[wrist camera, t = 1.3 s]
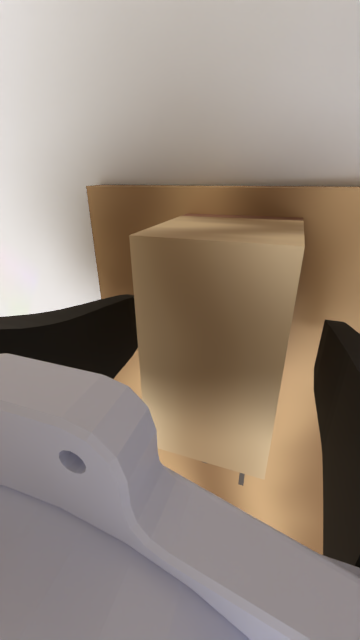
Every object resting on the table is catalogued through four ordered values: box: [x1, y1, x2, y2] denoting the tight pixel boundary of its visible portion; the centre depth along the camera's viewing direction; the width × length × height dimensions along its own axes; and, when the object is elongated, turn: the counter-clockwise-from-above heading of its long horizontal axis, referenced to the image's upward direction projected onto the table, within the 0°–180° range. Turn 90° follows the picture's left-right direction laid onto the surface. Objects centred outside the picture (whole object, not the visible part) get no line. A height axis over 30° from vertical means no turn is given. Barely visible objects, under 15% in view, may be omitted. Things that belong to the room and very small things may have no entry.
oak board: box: [86, 185, 360, 555], centre depth 17 cm, size 14×22×1 cm, turn 0°
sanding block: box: [129, 213, 305, 480], centre depth 11 cm, size 4×8×5 cm, turn 0°
